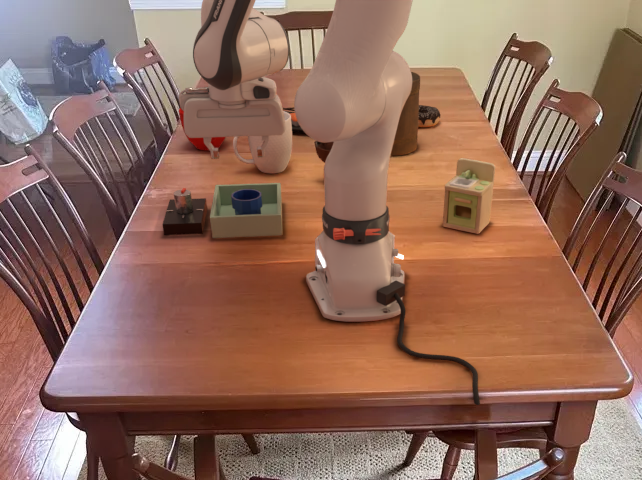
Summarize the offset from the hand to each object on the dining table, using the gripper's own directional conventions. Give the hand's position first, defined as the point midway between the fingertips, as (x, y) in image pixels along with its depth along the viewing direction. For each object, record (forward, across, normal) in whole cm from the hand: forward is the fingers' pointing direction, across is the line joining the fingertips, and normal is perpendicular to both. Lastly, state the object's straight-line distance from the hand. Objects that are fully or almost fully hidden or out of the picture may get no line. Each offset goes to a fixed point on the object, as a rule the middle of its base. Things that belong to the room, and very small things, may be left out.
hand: (238, 157), depth 145 cm
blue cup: (+14, +1, 0) cm, 14 cm away
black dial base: (+14, -13, 0) cm, 19 cm away
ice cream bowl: (+14, +22, +21) cm, 34 cm away
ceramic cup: (+14, -11, +48) cm, 51 cm away
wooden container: (+14, +38, +45) cm, 61 cm away
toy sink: (+14, +48, -6) cm, 50 cm away
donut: (+14, +50, +65) cm, 83 cm away
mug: (+14, +5, +31) cm, 35 cm away
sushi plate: (+14, +13, +73) cm, 76 cm away
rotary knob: (+11, -13, 0) cm, 17 cm away
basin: (+14, +1, 0) cm, 14 cm away
